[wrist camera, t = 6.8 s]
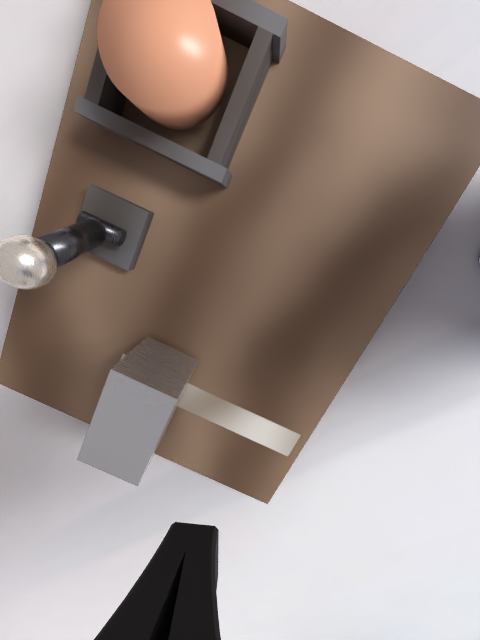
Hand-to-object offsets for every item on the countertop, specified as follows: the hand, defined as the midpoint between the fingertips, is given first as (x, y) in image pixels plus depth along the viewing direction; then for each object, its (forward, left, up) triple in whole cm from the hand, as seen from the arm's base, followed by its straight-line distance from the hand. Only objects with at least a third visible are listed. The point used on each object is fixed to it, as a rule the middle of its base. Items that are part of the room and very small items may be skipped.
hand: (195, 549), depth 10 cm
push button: (+8, -13, -7) cm, 17 cm away
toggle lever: (+9, -6, -7) cm, 13 cm away
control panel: (+4, -6, -10) cm, 13 cm away
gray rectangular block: (+4, +1, -9) cm, 10 cm away
